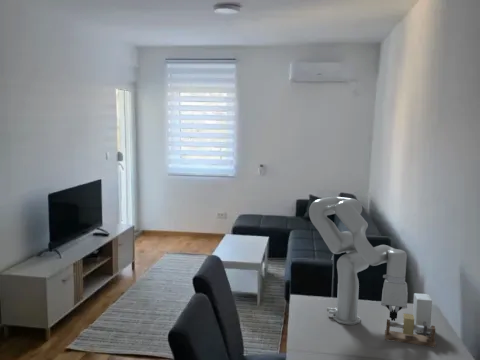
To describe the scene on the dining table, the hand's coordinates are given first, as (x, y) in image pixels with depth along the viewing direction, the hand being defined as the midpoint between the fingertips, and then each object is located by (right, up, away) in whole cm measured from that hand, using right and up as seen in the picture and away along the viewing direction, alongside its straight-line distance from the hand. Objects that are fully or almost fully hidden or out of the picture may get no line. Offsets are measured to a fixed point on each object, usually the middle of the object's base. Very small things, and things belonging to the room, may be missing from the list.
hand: (393, 319), depth 192 cm
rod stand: (+7, -9, -1) cm, 11 cm away
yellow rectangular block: (+6, -5, -1) cm, 8 cm away
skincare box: (+15, -8, +9) cm, 19 cm away
